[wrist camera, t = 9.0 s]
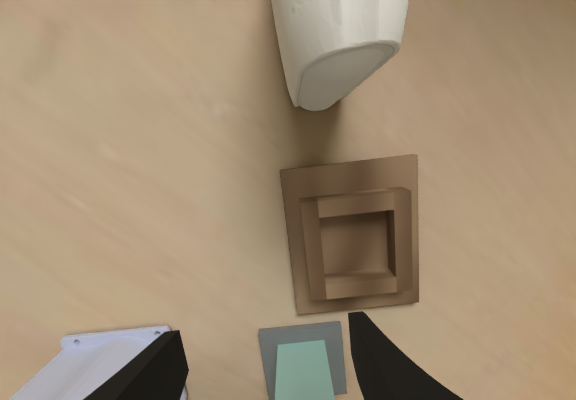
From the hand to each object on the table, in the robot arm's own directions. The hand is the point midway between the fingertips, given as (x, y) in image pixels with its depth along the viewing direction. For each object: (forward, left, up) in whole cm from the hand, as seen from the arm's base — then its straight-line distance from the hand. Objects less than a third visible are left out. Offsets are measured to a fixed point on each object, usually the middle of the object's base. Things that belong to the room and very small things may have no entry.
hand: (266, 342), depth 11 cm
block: (+1, -11, -10) cm, 15 cm away
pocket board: (+6, 0, -10) cm, 12 cm away
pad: (+1, -11, -10) cm, 15 cm away
